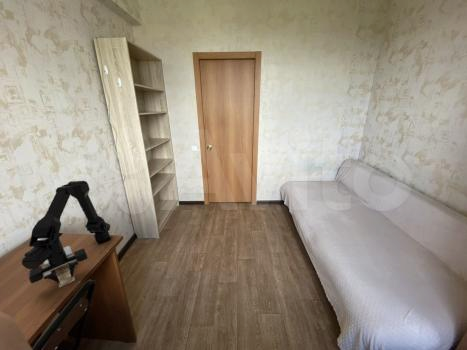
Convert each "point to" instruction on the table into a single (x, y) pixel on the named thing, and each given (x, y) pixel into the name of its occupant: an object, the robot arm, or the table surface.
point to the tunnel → (68, 253)
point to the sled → (64, 275)
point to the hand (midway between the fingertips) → (66, 279)
